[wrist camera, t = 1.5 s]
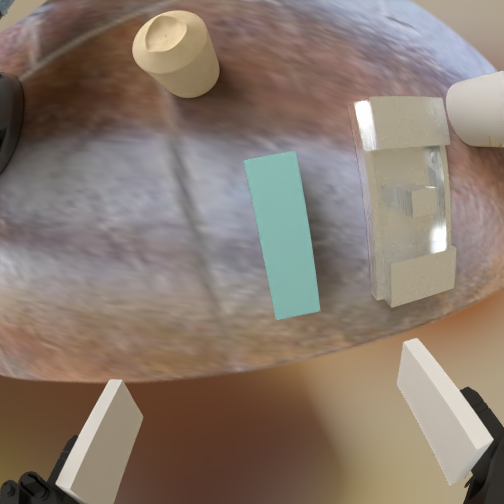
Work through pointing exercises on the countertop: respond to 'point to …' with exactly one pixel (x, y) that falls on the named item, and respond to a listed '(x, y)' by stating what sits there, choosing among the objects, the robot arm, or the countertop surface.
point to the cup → (478, 110)
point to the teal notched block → (284, 233)
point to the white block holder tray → (405, 195)
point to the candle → (177, 53)
